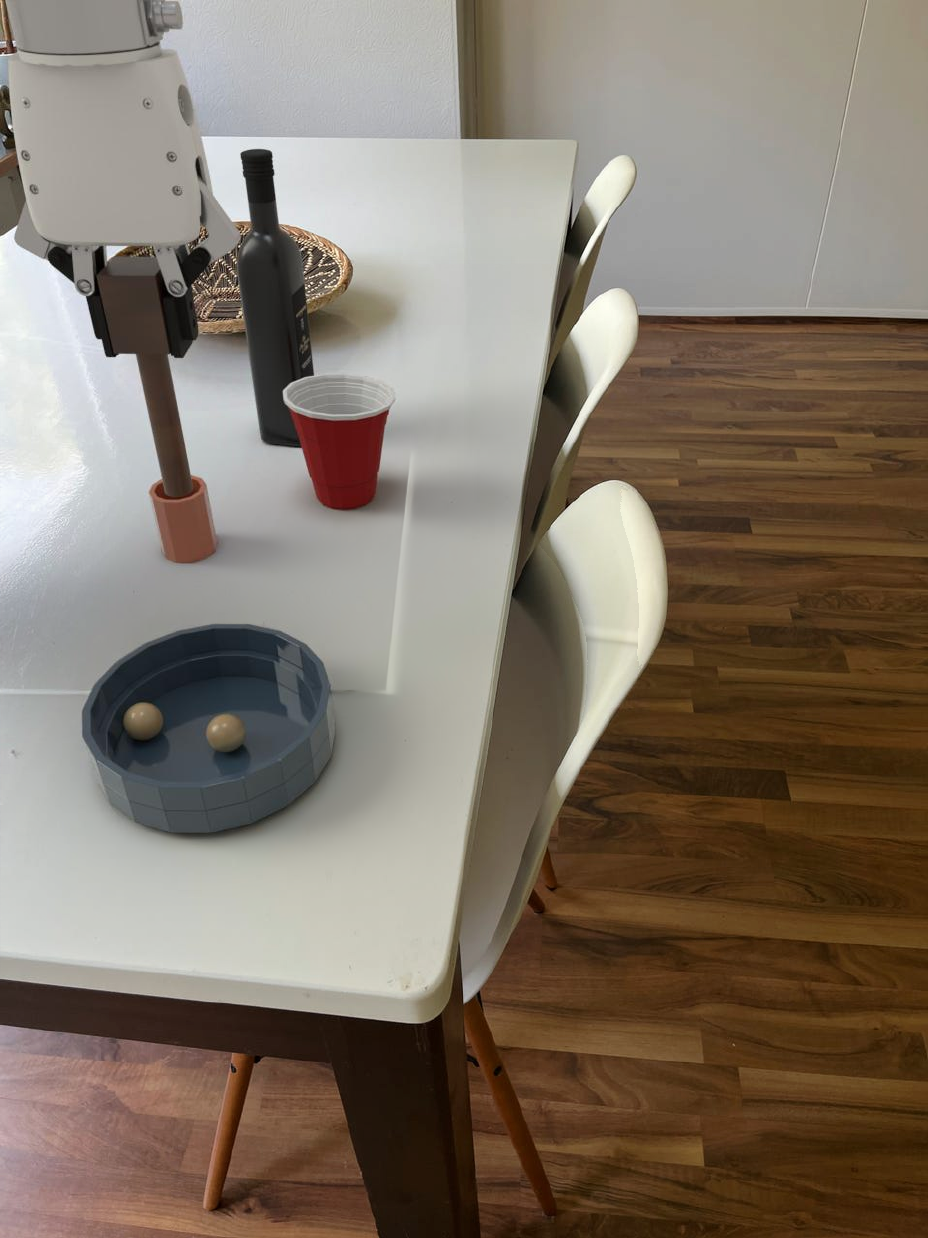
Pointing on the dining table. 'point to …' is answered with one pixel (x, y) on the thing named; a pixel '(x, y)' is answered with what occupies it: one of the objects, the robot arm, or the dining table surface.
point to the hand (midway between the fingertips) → (150, 346)
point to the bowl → (188, 700)
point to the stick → (147, 356)
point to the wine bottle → (272, 303)
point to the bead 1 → (143, 721)
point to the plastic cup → (341, 434)
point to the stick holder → (184, 522)
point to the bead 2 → (226, 733)
